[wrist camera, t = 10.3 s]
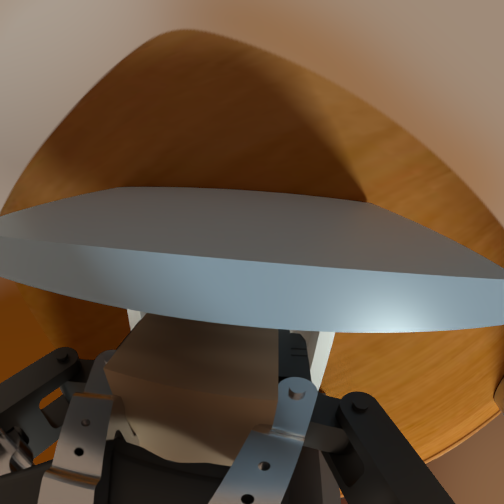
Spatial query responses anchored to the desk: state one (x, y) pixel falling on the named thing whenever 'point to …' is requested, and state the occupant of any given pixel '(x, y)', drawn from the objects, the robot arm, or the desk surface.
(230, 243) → the drawer
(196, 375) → the block
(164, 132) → the desk surface
